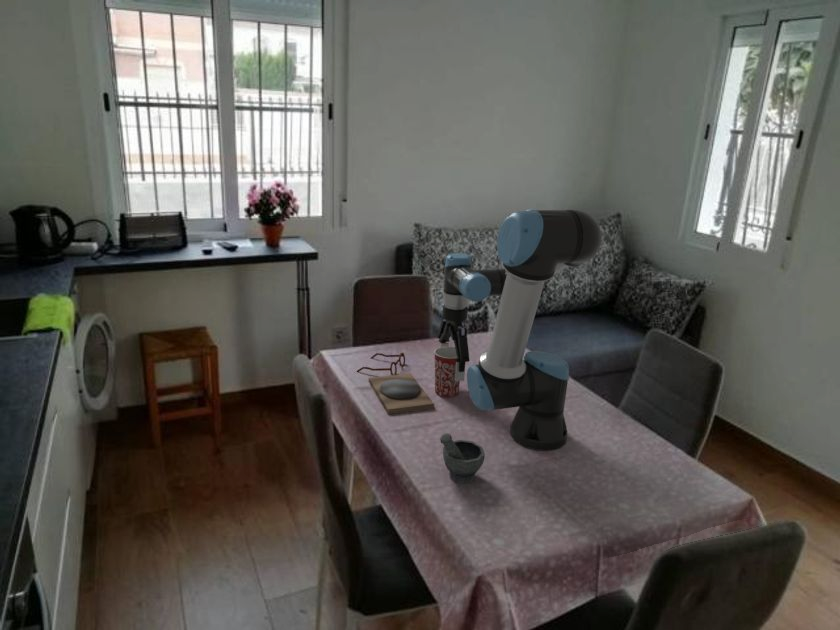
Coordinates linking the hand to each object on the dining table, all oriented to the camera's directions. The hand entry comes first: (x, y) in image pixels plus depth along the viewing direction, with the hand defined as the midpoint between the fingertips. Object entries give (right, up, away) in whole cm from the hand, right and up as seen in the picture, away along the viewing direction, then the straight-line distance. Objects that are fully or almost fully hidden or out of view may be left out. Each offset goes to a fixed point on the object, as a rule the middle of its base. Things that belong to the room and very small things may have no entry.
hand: (450, 371), depth 186 cm
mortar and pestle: (0, -21, -42) cm, 47 cm away
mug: (0, -6, +2) cm, 7 cm away
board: (-16, -7, -2) cm, 17 cm away
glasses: (-23, -1, +17) cm, 28 cm away
